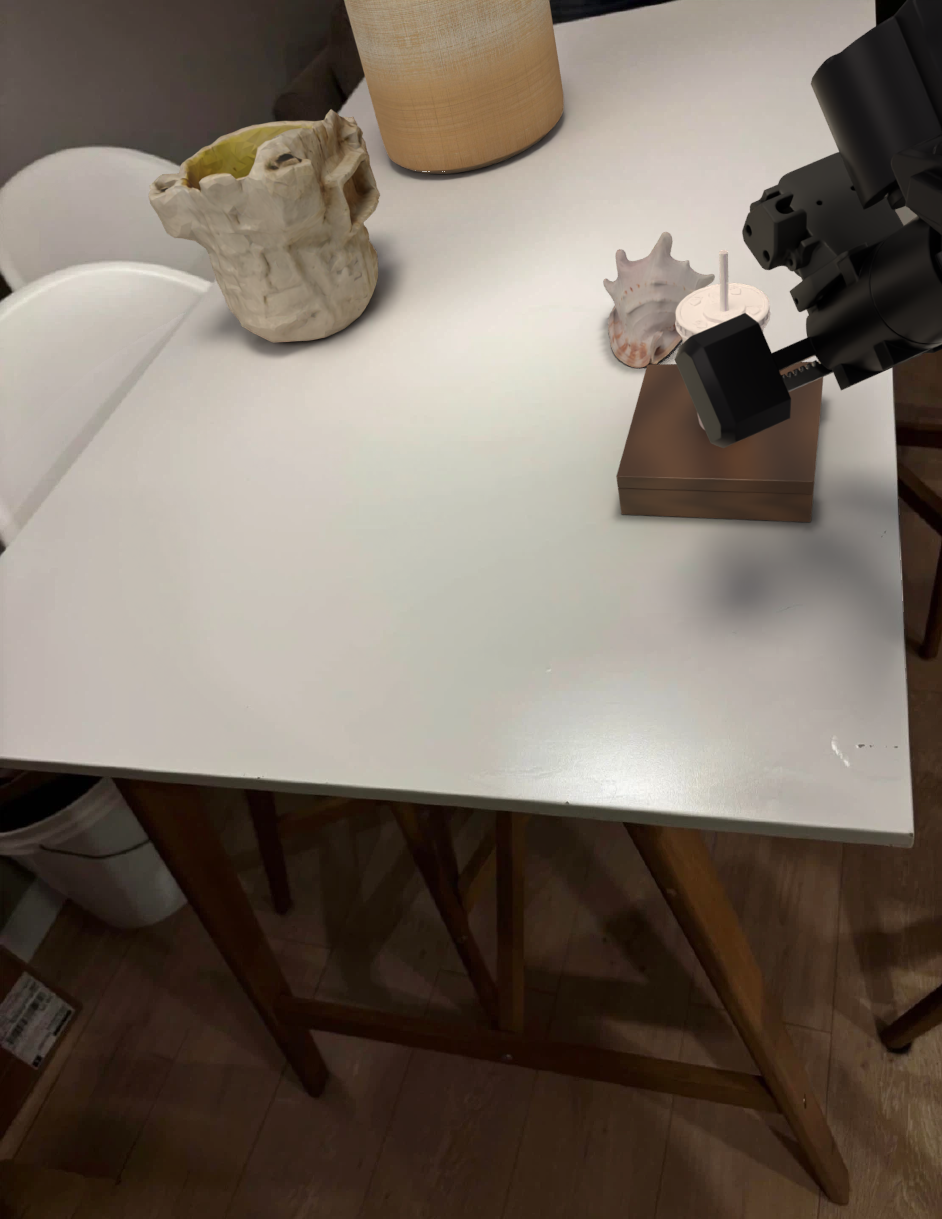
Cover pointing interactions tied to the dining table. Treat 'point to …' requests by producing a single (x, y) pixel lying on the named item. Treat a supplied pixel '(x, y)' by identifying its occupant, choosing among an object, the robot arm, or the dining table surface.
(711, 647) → the dining table surface
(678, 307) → the smoothie
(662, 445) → the wooden jewelry box
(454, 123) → the planter
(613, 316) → the seashell
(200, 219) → the ceramic vessel
